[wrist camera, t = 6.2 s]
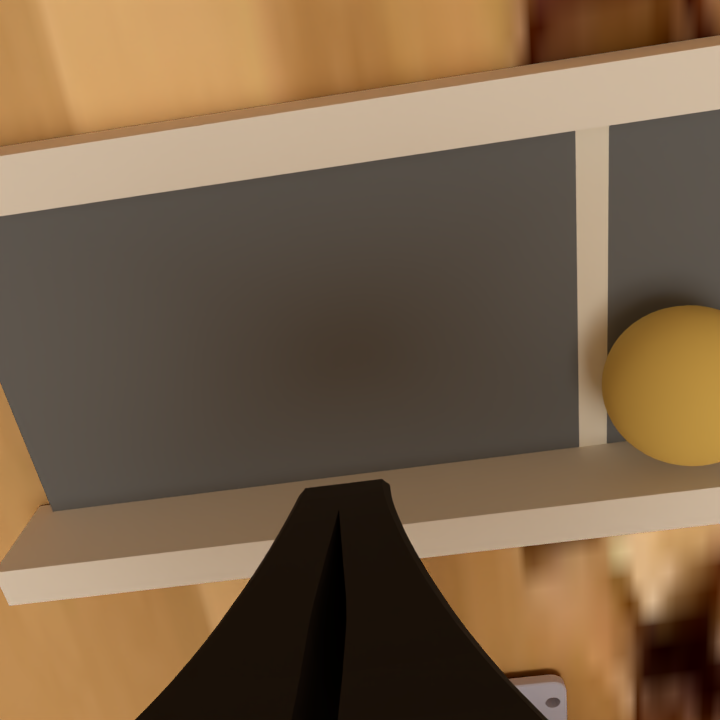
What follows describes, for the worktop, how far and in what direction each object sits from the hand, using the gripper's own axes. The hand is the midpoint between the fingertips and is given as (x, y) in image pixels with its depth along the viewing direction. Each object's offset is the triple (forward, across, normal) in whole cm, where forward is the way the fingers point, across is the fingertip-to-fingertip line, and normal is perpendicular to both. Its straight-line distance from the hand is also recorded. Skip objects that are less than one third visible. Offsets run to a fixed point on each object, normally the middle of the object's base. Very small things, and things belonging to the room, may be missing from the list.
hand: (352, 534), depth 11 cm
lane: (+9, -2, 0) cm, 9 cm away
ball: (+8, -8, +2) cm, 12 cm away
